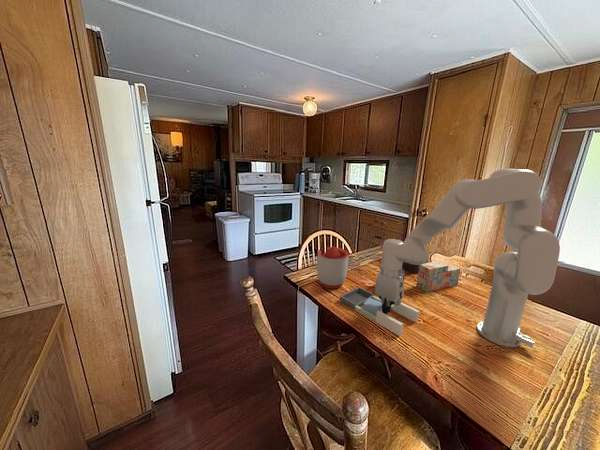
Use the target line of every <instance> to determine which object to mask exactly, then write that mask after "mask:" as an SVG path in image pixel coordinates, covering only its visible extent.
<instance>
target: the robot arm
mask: <svg viewBox="0 0 600 450" xmlns="http://www.w3.org/2000/svg"><path fill="white" fill-rule="evenodd" d="M541 186H542V180H541V177H540V176H539V174H538V173H536V172H534V171H533V170H531V169H524V168H523V169H522V168H521V169H520V168H501V169H498V170H495V171H493V172H492V173H491V174H490V175H489V177H488V178H484V179H478V180H476V179H471V178H470V179H468V178H467V179H466V178H465V179H461V180H458V181H457V182H455V183H454V184H453V185H452V187H451V188H450V189H449V191H447V193H446V194H445V195H444V196H443V198H442V199H441V200H440V202H438V204H437V205H436V206H435V208H434V209H433V210H432V211H431V212H430V214H428V215H426V217H424V218H423V219H422V220H421V221H420V222H419V223H417V225H416V226H415V227H414V228H413V229H412V230H411V232H410V233H409V234H408V235H407V236H406V237H405V238H404V241H402V240H400V239H395V238H389V239H386V240H384V242H383V246H382V253H381V254H382V255H381V264H380V266H381V270H380V269H379V271H378V274H377V275H376V281H375V285H374V294H375V296H376V297H378V298H380V299H381V303H382V313H384V314H386V315H388V314H390V313H391V311H392V310H391V305H393V304H395V305H400V304H401V303H402V302H401V300H403V298H404V291H405V289H404V287H405V284H404V283H405V280H404V281H403V276H404V275H406V272H405V273H403V272H402V269H403V268H402V264H403V262H406V263H410V264H414V265H422V264H424V263H426V262H427V260H428V261H429V251H428V249H427V248H426V245H427V244H428V243H429V242H430V241H431V240H432V239H433V238H434V237H435V236H437V234H439V233H442V232H446V231H449V230H452V229H453V228H455V226H456V225H457V224H458V223H459V222H460V221H461V220H462V218H463V217H464V216H465V215H466V214H467V213H468V212H469V211H470V209H471V210H476V209H477V210H478V209H485V208H491V207H495V206H500V205H504V206H505V217H504V223H503V224H504V225H503V232H502V241H503V243H504V244H505V245H506V246H507V248H510V249H511V251H506V252H502V253H501V254H500V255H498V257H496V259H495V261H494V264H493V281H492V285H491V290H490V294H489V296H488V301H487V305H486V310H485V313H484V317H483V318H484V319H483V321H479V322H478V323H477V325H476V330H477V332H478V334H480V335H481V336H482V337H483V338H485V339H486V340H488V341H490V342H492V343H493V344H496V345H498V346H502V347H505V348H506V347H507V348H517V347H519V346H521V344H525V345H527V346H528V347H531V348H533V347H534V345H535V341H533V340H531V337H530V336H529V335H526V334H523V333H522V332H521V328H520V325H521V321H522V317H523V314H524V310H525V307H526V304H527V302H528V296H529V295H532V296H533V295H535V296H537V295H538V296H539V295H542V294H544V293H546V292H547V291H549V289H551V287H552V286H553V284H554V281H555V278H556V273H557V268H558V263H559V257H560V252H561V246H560V242H559V239H558V238H557V236H556V235H555V233H553V232H551V231H550V230H548V229H545V228H543V227H542V218H543V217H542V215H543V201H542V197H541V194H540V192H539V190H540V188H541ZM404 277H405V276H404Z"/></svg>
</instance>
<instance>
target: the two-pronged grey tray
mask: <svg viewBox="0 0 600 450" xmlns="http://www.w3.org/2000/svg"><path fill="white" fill-rule="evenodd" d="M369 298H371V299H374V300H377V301H379V302H381V299H380V298H379V297H378V296H377V295H374V293H373V292H371V291H369V290H368V289H364V288H363V287H361V286H358V287H356V288H354V289H352V290H350V291H348V292H346V293H345V292H344V293H343V294H342V295H340V296H339V302H341V303H342V304H344V305H345V306H348V307H350V309H353V310H354V311H356V312H358V313H360V314H361V315H363V316H365V317H366V318H368V319H370V320H372V321H373V322H375V323H377V324H378V325H380V326H381V327H383V328H385V329H387V330H389V331H390V332H392V333H394V334H395V335H397V336H399V337H400V336H402V335H403V328H404V323H403V322H401V321H399V320H397V319H395V318H394V317H392V316H390V315H388V314H384V313H382V312H380V311H377V314H376V316H375V315H373V314H372V313H370V312H368V311H366V310H365V309H363V307H362V306H363V304H364V303H365V302H366V301H367V300H368V299H369ZM391 311H393V312H395V313H397V314H399V315H401V316H403V317H405V318H407V319H409V320H410V321H413V322H415V323H418V321H419V317H420V310H419V309H416V308H414V307H412V306H410V305H408V304H405V303H404V302H401V304H400V305H395V304H393V305H391Z"/></svg>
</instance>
